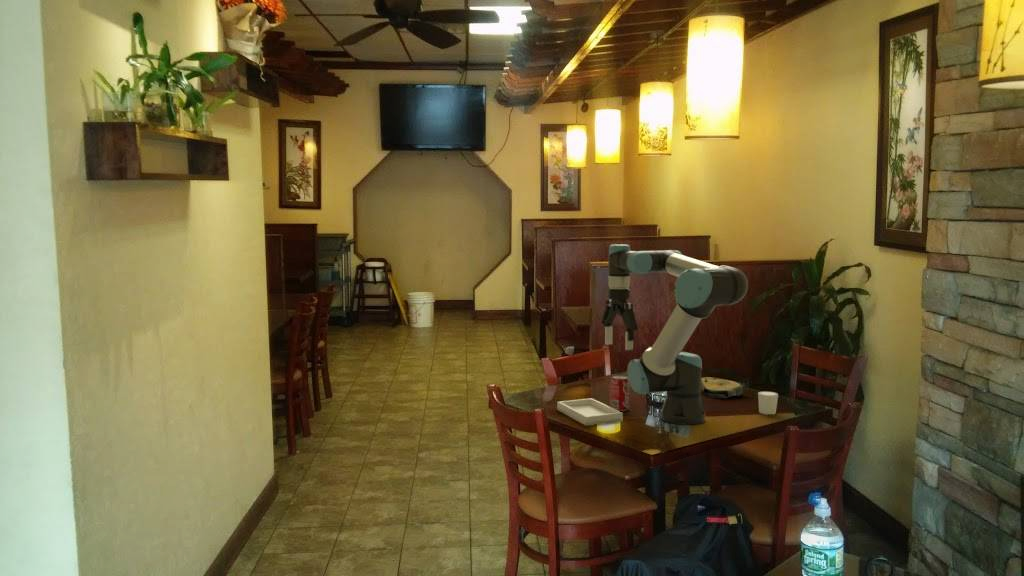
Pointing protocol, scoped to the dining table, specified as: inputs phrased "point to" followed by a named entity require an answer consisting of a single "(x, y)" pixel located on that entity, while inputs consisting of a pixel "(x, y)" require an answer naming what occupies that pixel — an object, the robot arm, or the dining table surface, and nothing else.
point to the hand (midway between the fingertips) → (618, 347)
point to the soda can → (619, 393)
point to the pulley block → (721, 387)
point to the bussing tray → (589, 411)
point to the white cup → (767, 402)
